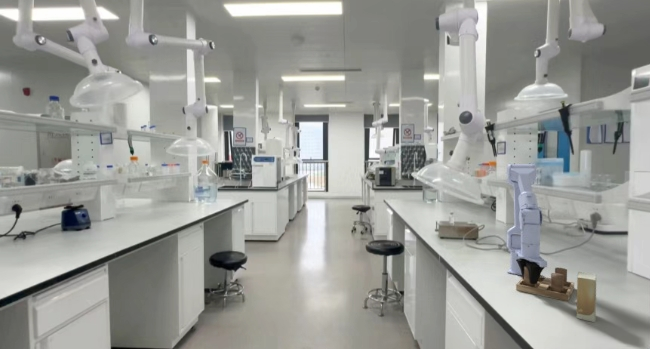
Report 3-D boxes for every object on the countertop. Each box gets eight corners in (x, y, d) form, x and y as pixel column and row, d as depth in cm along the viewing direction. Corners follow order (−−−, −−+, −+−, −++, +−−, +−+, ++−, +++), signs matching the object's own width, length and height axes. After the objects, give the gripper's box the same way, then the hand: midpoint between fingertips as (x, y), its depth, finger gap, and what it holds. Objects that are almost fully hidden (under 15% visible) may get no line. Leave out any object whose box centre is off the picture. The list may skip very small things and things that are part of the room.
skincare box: (577, 311, 104) (578, 270, 103) (595, 315, 101) (596, 273, 101) (576, 318, 99) (576, 276, 98) (595, 323, 96) (596, 279, 96)
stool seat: (526, 279, 132) (526, 260, 132) (574, 288, 122) (574, 268, 122) (516, 290, 121) (516, 270, 121) (568, 301, 111) (568, 279, 111)
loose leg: (525, 284, 124) (525, 265, 123) (536, 286, 121) (536, 267, 121) (522, 287, 121) (522, 267, 121) (533, 289, 119) (534, 269, 119)
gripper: (507, 238, 128) (506, 275, 128) (532, 248, 113) (532, 289, 114) (525, 238, 128) (525, 274, 129) (553, 248, 114) (552, 288, 114)
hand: (529, 281), depth 121 cm, fingers closed on loose leg, 3 cm apart
